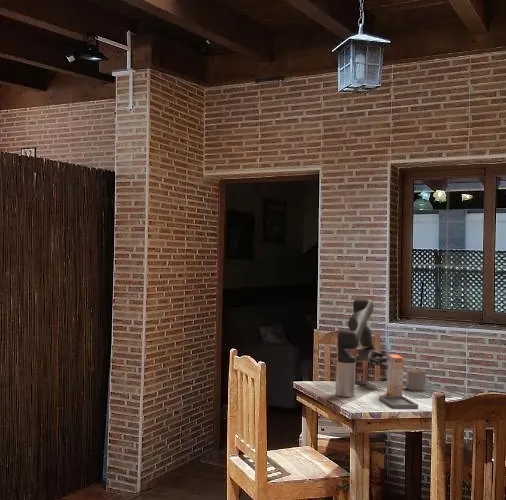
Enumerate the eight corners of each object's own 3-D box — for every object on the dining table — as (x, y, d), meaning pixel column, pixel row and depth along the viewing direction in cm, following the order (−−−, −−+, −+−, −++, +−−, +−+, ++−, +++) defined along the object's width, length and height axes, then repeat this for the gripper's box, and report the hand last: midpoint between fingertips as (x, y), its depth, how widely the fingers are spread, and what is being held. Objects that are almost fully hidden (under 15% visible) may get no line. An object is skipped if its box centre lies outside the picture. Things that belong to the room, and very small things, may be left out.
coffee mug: (423, 387, 374) (424, 369, 374) (426, 390, 364) (426, 372, 364) (399, 386, 375) (400, 368, 376) (401, 389, 366) (401, 371, 366)
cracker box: (402, 399, 339) (404, 358, 340) (390, 398, 339) (392, 357, 340) (398, 393, 353) (399, 354, 354) (386, 393, 353) (387, 353, 354)
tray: (392, 408, 316) (392, 404, 316) (379, 399, 336) (379, 396, 336) (418, 408, 318) (418, 404, 318) (403, 399, 337) (403, 396, 337)
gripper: (364, 351, 377) (373, 355, 361) (388, 351, 379) (398, 355, 363) (363, 364, 377) (373, 369, 361) (388, 364, 379) (398, 369, 363)
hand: (385, 362), depth 362 cm, fingers open, 8 cm apart
